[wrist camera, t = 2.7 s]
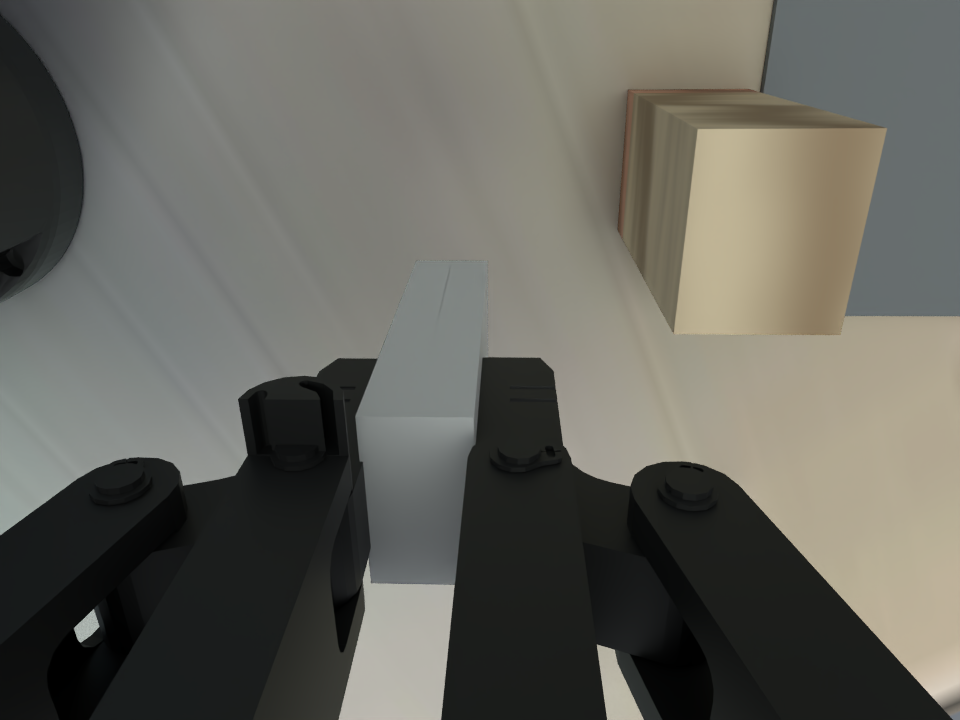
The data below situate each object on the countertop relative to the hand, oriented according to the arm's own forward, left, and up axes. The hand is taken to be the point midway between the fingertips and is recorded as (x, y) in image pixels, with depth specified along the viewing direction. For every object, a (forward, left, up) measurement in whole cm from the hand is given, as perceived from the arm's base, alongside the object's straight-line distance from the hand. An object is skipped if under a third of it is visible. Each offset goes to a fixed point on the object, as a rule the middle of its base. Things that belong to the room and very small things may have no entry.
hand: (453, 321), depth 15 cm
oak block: (+9, 0, -18) cm, 20 cm away
